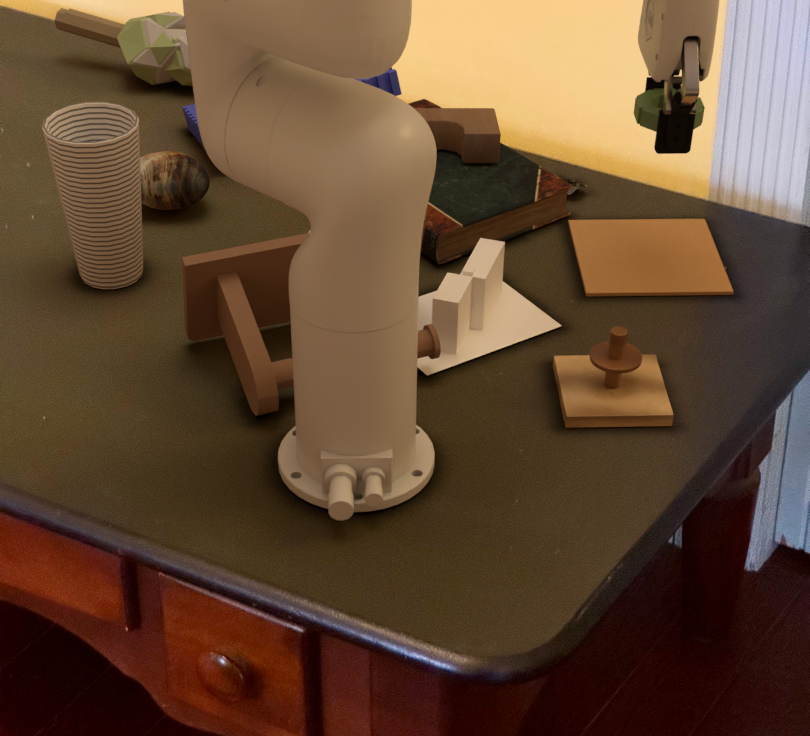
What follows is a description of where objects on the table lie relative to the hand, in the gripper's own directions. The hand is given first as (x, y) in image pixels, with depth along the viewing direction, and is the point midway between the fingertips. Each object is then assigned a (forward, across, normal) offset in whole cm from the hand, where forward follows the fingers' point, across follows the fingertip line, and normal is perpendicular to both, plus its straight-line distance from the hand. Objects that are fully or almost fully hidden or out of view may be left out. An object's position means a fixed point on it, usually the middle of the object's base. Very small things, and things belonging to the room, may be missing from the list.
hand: (665, 133), depth 133 cm
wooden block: (+7, -15, -14) cm, 22 cm away
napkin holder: (+13, +12, -19) cm, 26 cm away
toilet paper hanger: (+14, +17, -32) cm, 39 cm away
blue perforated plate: (+7, -26, -36) cm, 45 cm away
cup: (+13, +2, -52) cm, 54 cm away
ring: (-1, 0, 0) cm, 1 cm away
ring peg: (+13, +23, -7) cm, 27 cm away
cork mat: (+13, 0, 0) cm, 13 cm away
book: (+13, -13, -21) cm, 28 cm away
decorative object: (+8, -48, -64) cm, 80 cm away
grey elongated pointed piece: (+12, -13, -8) cm, 19 cm away
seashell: (+11, -14, -46) cm, 49 cm away
